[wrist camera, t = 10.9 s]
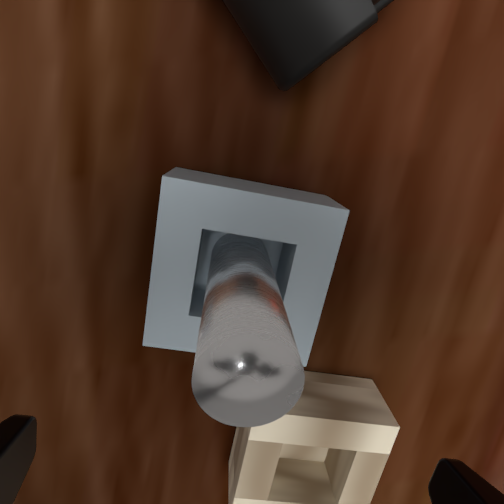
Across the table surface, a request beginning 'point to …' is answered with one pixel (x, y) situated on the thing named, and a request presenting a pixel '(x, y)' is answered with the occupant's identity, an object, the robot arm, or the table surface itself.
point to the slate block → (247, 224)
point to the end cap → (301, 31)
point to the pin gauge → (245, 339)
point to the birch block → (316, 447)
